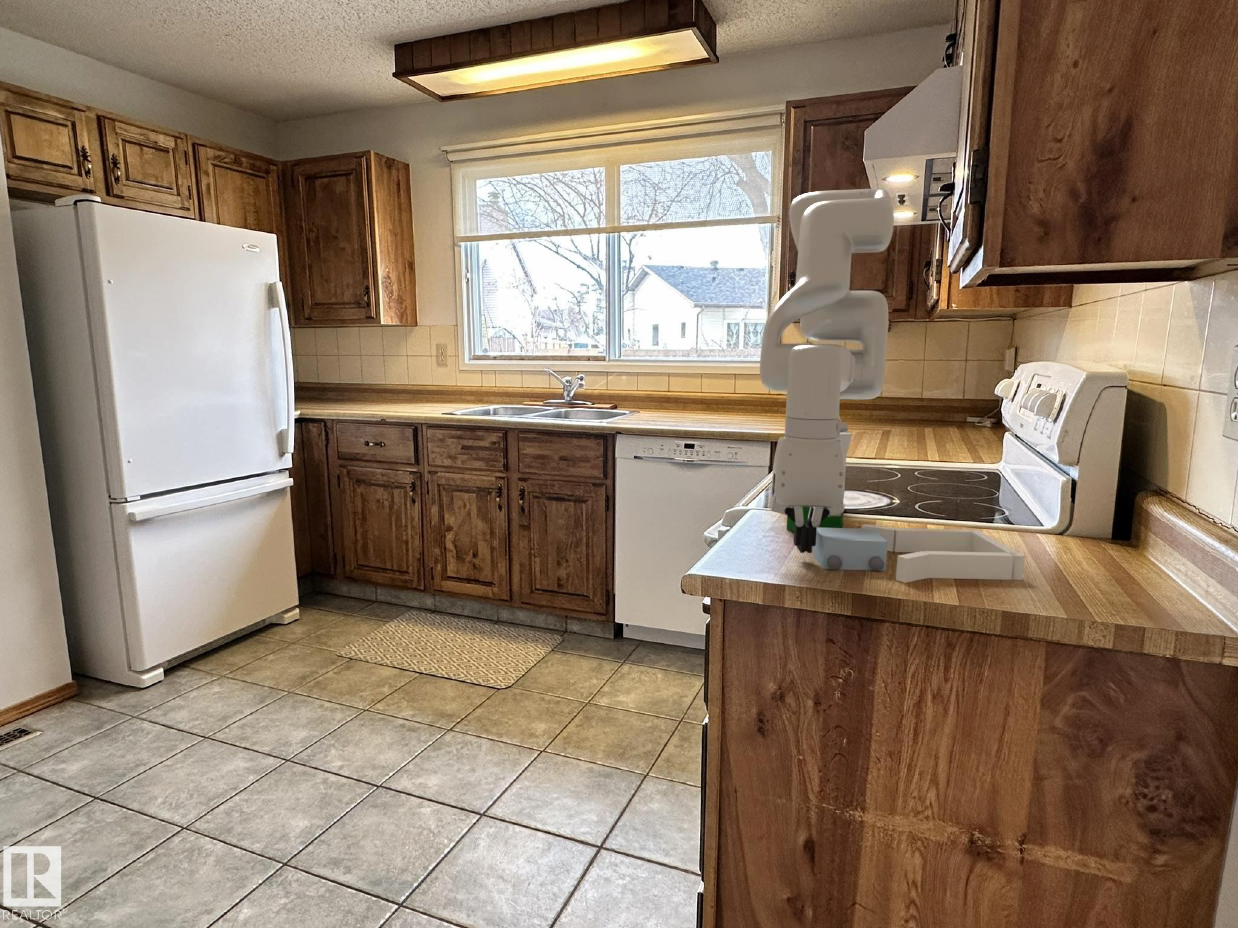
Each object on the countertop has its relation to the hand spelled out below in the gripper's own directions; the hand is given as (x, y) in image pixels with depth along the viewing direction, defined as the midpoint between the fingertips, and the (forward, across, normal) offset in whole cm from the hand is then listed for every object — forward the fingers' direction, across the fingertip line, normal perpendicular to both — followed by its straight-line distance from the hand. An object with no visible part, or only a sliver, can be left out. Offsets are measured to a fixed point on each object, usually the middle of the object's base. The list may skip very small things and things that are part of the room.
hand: (804, 550), depth 105 cm
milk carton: (+2, -5, -16) cm, 17 cm away
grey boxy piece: (+2, -7, 0) cm, 7 cm away
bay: (+2, -20, 0) cm, 20 cm away
